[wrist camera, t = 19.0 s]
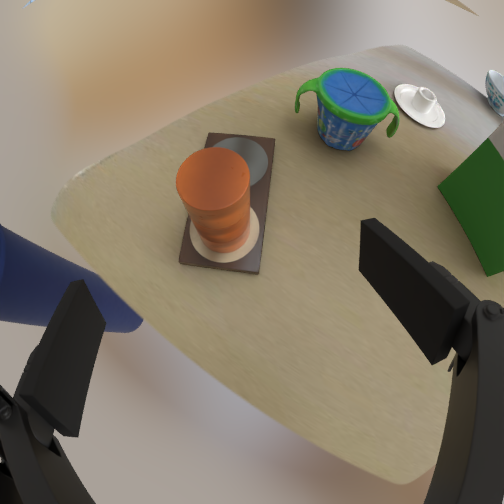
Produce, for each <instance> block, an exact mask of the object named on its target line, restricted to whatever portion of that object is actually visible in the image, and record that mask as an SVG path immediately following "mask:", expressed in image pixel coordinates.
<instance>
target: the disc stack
mask: <svg viewBox="0 0 504 504" xmlns="http://www.w3.org/2000/svg"><path fill="white" fill-rule="evenodd" d="M176 187H177V191H178V193H179V196H180V198H181V200H182V202H183V204H184V206H185V208H186V210H187V212H188V214H189V216H190V218H191V220H192V222H193V224H194V226H195V228H196V230H197V232H198V234H199V236H200V238H201V240H202V242H203V243H204V245H205V246H206V247H207V248H209V249H210V250H212V251H214V252H218V253H230V252H233V251H235V250H237V249H239V248H240V247H242V246H243V245H244V243H245V242H246V241H247V239H248V237H249V233H250V172H249V168H248V165H247V163H246V162H245V160H244V159H243V158H242V157H241V156H240V155H239V154H237V153H236V152H234V151H232V150H229V149H226V148H221V147H210V148H205V149H202V150H199V151H197V152H195V153H193V154H192V155H190V156H189V157H188V158H187V159H186V160H185V161H184V162H183V163H182V165H181V166H180V168H179V170H178V173H177V177H176Z"/></svg>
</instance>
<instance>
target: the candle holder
mask: <svg viewBox="0 0 504 504" xmlns="http://www.w3.org/2000/svg"><path fill="white" fill-rule="evenodd" d="M394 94H395V98H396V100H397V102H398V104H399V105H400V107H401V108H402V109H403V110H404V111H405V112H406V113H407V114H408V115H409V116H410V117H411V118H413V119H414V120H416V121H417V122H419V123H421V124H423V125H425V126H428V127H432V128H439V127H441V126H443V124H444V122H445V115H444V112H443V110H442V108H441V106H440V105H439V104H438V102H437V101H436V100H437V99H436V96H435V95H434V93H433V92H432V91H431V90H429V89H427V88H425V87H419V88H418V87H416V86H413V85H410V84H400V85H398V86H397V87H396V88H395V91H394Z"/></svg>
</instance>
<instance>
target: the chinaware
mask: <svg viewBox="0 0 504 504" xmlns="http://www.w3.org/2000/svg"><path fill="white" fill-rule="evenodd" d="M486 91H487V95H488V98H487V99H488V102H489V104H490V106H491V107H492V108H493V109H494V111H495V112H497V113H498V114H499V115H501V116H504V76H503V75H501V74H500V73H498V72H496V71H494V70H489V71H488V74H487V77H486Z"/></svg>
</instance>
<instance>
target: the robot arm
mask: <svg viewBox="0 0 504 504" xmlns="http://www.w3.org/2000/svg"><path fill="white" fill-rule="evenodd" d="M359 271H360V272H361V273H362V275H363V276H364V277H365V278H366V279H367V281H368V282H369V283H370V284H371V286H372V287H373V288H374V289H375V291H376V292H377V293H378V294H379V295H380V297H381V298H382V299H383V301H384V302H385V303H386V304H387V306H388V307H389V308H390V309H391V311H392V312H393V313H394V315H395V316H396V317H397V318H398V320H399V321H400V322H401V324H402V325H403V326H404V328H405V329H406V330H407V332H408V333H409V334H410V336H411V337H412V338H413V340H414V341H415V342H416V344H417V345H418V346H419V348H420V349H421V351H422V352H423V353H424V355H425V356H426V358H427V359H428V360H429V362H430V363H431V365H434V364H436V363H438V362H440V361H441V360H443V359H445V358H447V356H448V354H449V352H450V350H451V348H452V347H453V349H454V350H455V351H456V354H455V356H454V358H453V360H452V362H451V364H450V366H449V369H448V372H450V371H451V369H452V367H453V376H452V385H451V393H450V400H449V407H448V413H447V419H446V424H445V429H444V434H443V439H442V443H441V448H440V452H439V456H438V460H437V463H436V467H435V471H434V474H433V478H432V481H431V484H430V487H429V490H428V493H427V496H426V499H425V501H424V504H502V500H503V496H504V308H502V307H501V305H499V304H498V303H496V302H494V301H491V300H483V301H480V300H479V299H478V298H477V297H476V296H475V295H474V294H473V293H472V292H470V291H469V290H468V289H467V288H466V287H465V286H464V285H463V284H462V283H461V282H460V281H458V279H457V278H455V277H454V276H453V275H451V273H450V272H449V271H448V270H447V269H445V268H444V267H443V266H441V265H439V264H437V263H435V262H433V261H432V262H427V261H426V260H425V259H424V258H423V257H422V256H421V255H419V254H418V253H417V252H416V251H415V250H414V249H412V248H411V247H410V246H409V245H408V244H406V243H405V242H404V241H403V240H402V239H400V238H399V237H398V236H397V235H396V234H394V233H393V232H392V231H391V230H389V229H388V228H387V227H386V226H384V225H383V224H382V223H381V222H379V221H378V220H377V219H376V218H371V219H366V220H361V232H360V257H359ZM105 326H106V322H105V320H104V318H103V316H102V314H101V313H100V311H99V309H98V307H97V305H96V303H95V301H94V300H93V298H92V296H91V294H90V292H89V290H88V288H87V286H86V284H85V282H84V280H83V279H82V280H78V281H74V282H71V283H70V285H69V286H68V288H67V290H66V292H65V293H64V295H63V297H62V299H61V301H60V303H59V305H58V306H57V308H56V310H55V312H54V314H53V316H52V318H51V320H50V322H49V324H48V326H47V328H46V330H45V332H44V334H43V337H42V339H41V341H40V343H39V345H38V346H37V347H36V348H35V349H34V350H33V352H32V353H31V354H30V357H29V359H28V361H27V365H26V366H25V368H24V373H22V376H21V379H20V381H19V383H18V386H17V388H16V391H15V394H14V397H13V398H12V397H11V396H10V395H9V394H8V392H7V391H6V390H5V389H4V388H3V387H2V386H1V385H0V457H1V460H2V462H1V463H0V504H96V503H95V502H94V501H93V499H92V498H91V496H90V495H89V493H88V492H87V490H86V488H85V487H84V485H83V484H82V482H81V481H80V479H79V477H78V476H77V474H76V472H75V471H74V469H73V467H72V466H71V464H70V462H69V460H68V458H67V456H66V454H65V453H64V451H63V449H62V447H61V445H60V443H59V441H58V439H57V438H56V437H55V436H54V435H53V433H54V429H56V430H57V431H58V432H59V433H60V434H62V435H63V436H68V437H78V436H79V429H80V425H81V420H82V414H83V410H84V405H85V400H86V396H87V392H88V387H89V383H90V379H91V375H92V371H93V367H94V364H95V360H96V356H97V353H98V349H99V346H100V342H101V339H102V336H103V332H104V329H105Z"/></svg>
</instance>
